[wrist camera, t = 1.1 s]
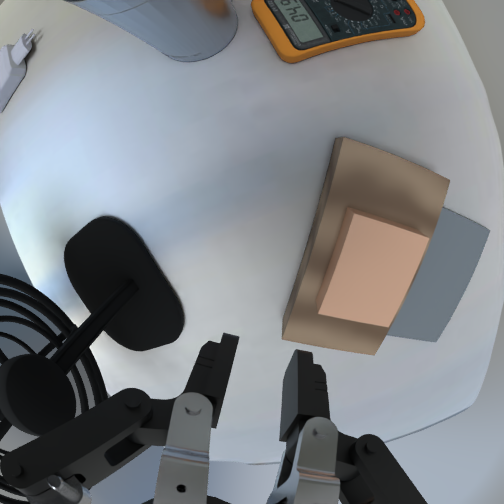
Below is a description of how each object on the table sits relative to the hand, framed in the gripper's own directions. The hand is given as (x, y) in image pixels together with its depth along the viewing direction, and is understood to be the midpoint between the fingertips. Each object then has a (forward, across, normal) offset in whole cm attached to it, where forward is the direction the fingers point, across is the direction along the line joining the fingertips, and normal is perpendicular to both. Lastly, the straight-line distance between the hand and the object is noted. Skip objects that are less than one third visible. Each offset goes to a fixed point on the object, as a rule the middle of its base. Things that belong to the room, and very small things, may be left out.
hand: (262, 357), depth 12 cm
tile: (+15, -10, 0) cm, 18 cm away
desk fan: (+19, +20, +14) cm, 31 cm away
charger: (+20, +48, -20) cm, 55 cm away
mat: (+19, -22, +1) cm, 29 cm away
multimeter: (+20, -2, -26) cm, 33 cm away
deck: (+19, -10, 0) cm, 21 cm away
